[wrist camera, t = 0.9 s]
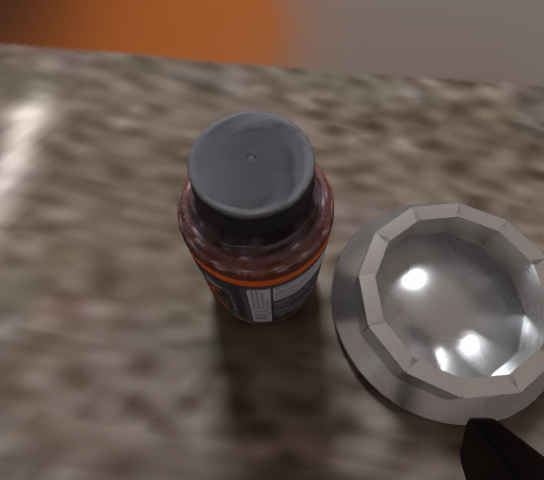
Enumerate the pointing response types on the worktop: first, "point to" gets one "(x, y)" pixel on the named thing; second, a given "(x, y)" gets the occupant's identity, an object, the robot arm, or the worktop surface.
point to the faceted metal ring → (443, 312)
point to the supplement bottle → (256, 214)
